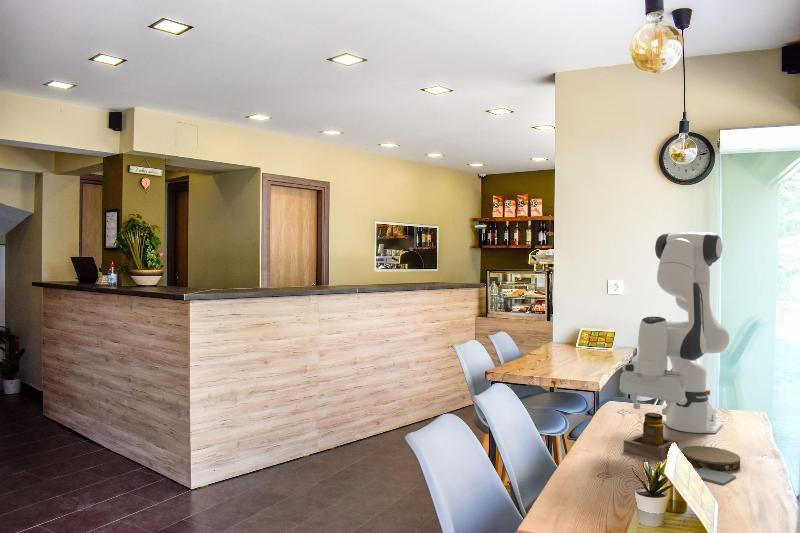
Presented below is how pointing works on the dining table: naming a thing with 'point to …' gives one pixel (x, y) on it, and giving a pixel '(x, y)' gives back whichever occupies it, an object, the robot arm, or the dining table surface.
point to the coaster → (715, 476)
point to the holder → (647, 448)
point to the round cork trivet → (712, 458)
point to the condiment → (653, 429)
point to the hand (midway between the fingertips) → (650, 411)
